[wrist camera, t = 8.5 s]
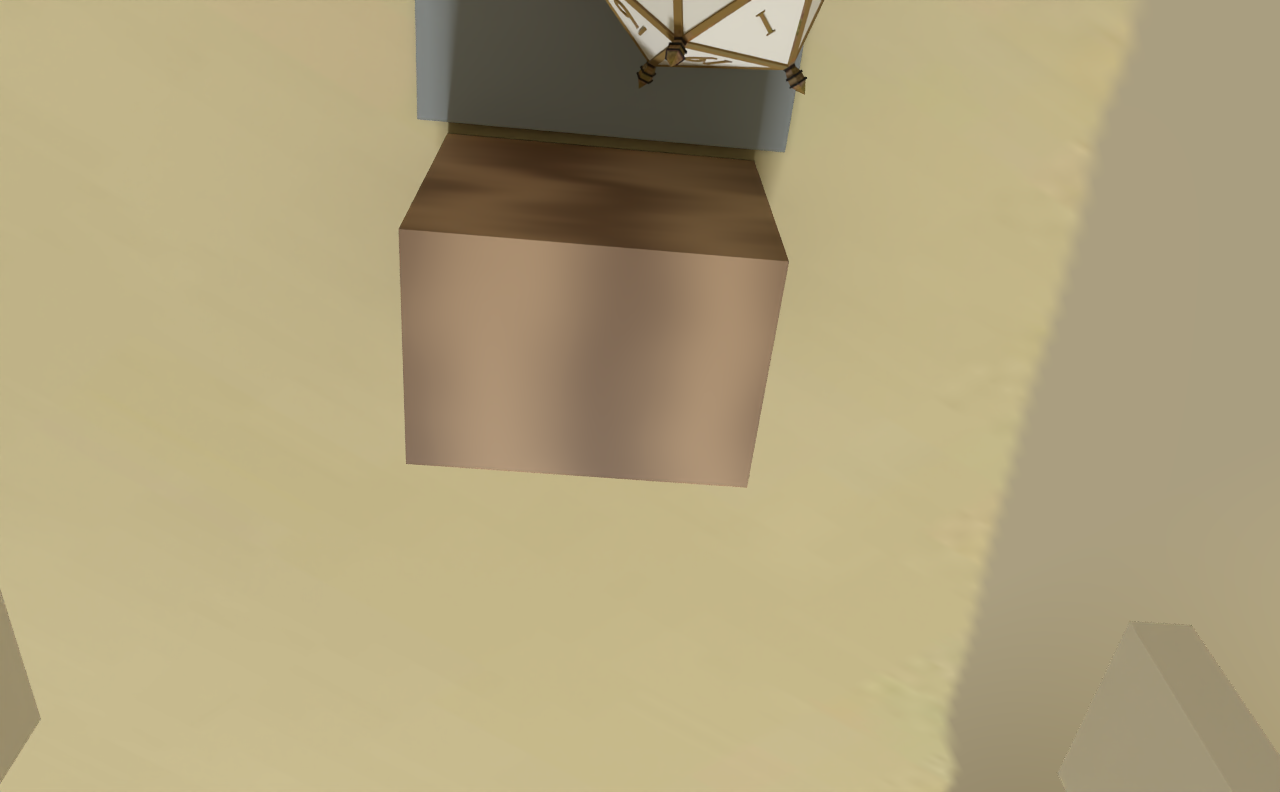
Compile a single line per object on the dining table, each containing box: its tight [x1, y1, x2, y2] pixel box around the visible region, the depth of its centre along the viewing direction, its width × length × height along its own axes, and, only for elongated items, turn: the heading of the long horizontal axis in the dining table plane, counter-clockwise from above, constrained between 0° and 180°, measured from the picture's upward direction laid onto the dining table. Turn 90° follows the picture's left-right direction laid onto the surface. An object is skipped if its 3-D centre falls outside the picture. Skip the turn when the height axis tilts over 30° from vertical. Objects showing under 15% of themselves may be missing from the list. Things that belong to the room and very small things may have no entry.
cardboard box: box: [399, 133, 789, 487], centre depth 34 cm, size 11×8×9 cm
